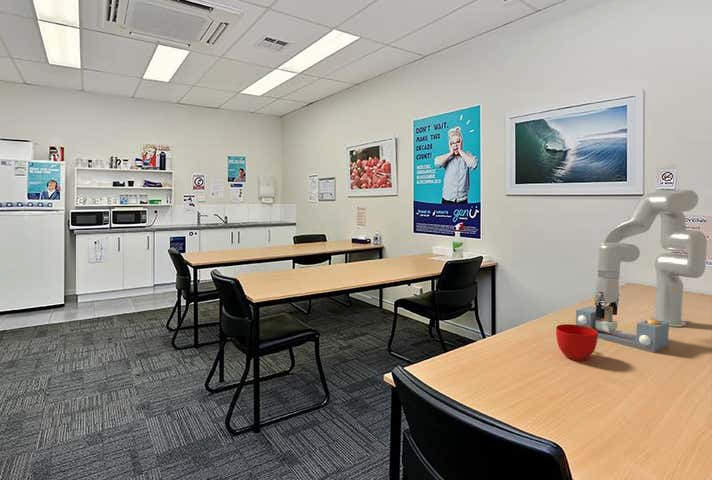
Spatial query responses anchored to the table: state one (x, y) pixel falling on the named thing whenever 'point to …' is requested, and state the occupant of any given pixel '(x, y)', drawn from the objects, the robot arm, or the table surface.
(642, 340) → the rail bed
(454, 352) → the table surface
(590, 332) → the ceramic cup
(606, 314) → the carriage
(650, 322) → the button
